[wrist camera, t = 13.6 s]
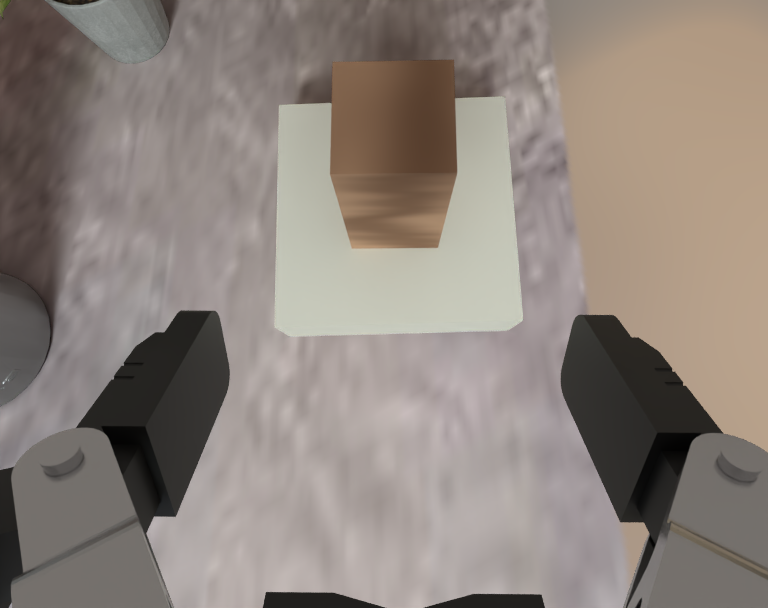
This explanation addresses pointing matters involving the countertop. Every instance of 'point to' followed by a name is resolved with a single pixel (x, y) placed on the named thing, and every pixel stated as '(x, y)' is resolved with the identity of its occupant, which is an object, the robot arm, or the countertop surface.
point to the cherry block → (393, 150)
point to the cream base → (396, 265)
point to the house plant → (117, 25)
